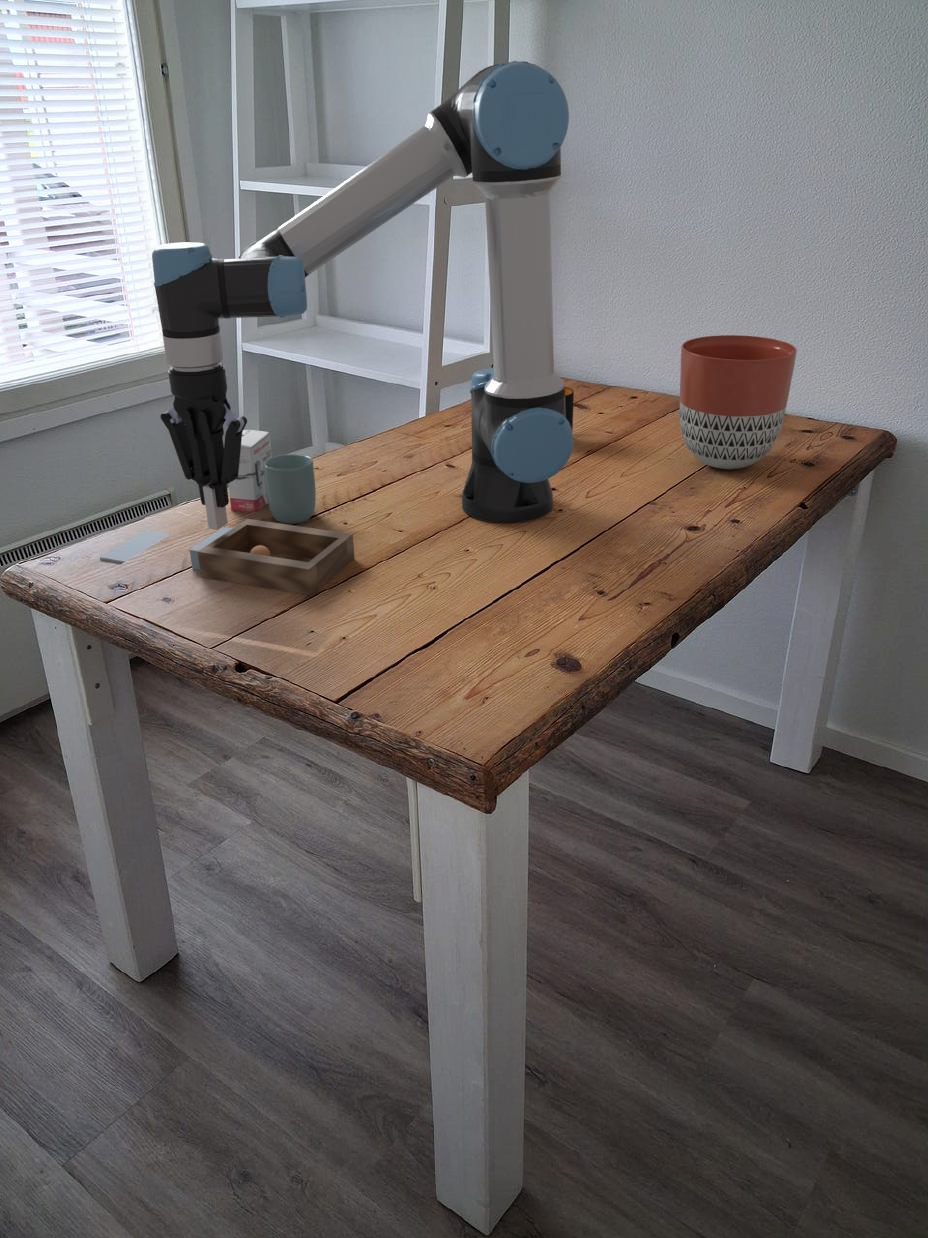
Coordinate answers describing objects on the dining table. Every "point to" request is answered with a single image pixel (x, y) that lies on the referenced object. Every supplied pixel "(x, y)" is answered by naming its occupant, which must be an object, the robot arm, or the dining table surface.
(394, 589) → the dining table surface
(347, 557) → the box
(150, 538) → the lid
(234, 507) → the ink box
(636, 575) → the dining table surface
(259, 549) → the ball
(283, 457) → the cup
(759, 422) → the planter
